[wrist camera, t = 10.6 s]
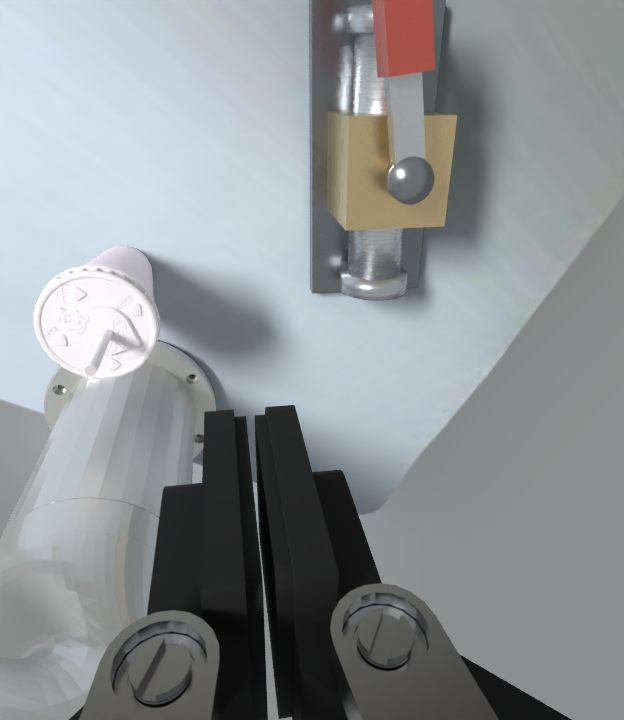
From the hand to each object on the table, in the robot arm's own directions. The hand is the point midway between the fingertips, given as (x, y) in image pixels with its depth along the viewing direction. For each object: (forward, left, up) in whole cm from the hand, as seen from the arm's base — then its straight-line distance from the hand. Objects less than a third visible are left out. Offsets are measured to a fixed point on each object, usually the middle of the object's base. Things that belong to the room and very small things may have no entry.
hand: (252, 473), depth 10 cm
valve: (+2, -10, -29) cm, 30 cm away
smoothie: (-5, +7, -29) cm, 30 cm away
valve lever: (+6, -9, -21) cm, 23 cm away
